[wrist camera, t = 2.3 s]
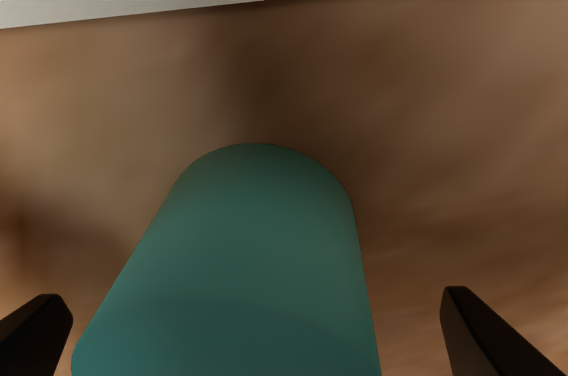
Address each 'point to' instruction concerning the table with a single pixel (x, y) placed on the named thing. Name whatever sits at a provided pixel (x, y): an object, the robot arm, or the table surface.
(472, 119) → the table surface
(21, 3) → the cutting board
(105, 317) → the teal cylinder
